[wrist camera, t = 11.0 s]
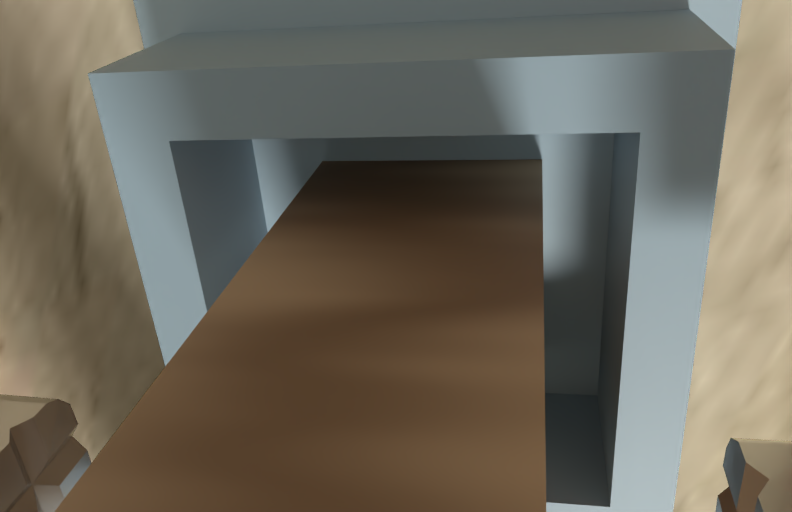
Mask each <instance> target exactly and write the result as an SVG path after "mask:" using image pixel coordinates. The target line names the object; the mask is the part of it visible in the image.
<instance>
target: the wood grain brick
mask: <svg viewBox="0 0 792 512" xmlns="http://www.w3.org/2000/svg"><path fill="white" fill-rule="evenodd" d="M55 512H546V445H545V358H544V271H543V184H542V159H521V160H397V161H322V162H321V164H320V165H319V166H318V168H317V169H316V170H315V171H314V173H313V174H312V175H311V177H310V178H309V179H308V181H307V182H306V183H305V185H304V186H303V187H302V188H301V190H300V191H299V192H298V194H297V195H296V196H295V198H294V199H293V200H292V202H291V203H290V204H289V205H288V207H287V208H286V209H285V211H284V212H283V213H282V215H281V216H280V217H279V219H278V220H277V221H276V222H275V224H274V225H273V226H272V228H271V229H270V230H269V232H268V233H267V234H266V236H265V237H264V238H263V239H262V241H261V242H260V243H259V245H258V246H257V247H256V249H255V250H254V251H253V253H252V254H251V255H250V256H249V258H248V259H247V260H246V262H245V263H244V264H243V266H242V267H241V268H240V270H239V271H238V272H237V273H236V275H235V276H234V277H233V279H232V280H231V281H230V283H229V284H228V285H227V287H226V288H225V289H224V290H223V292H222V293H221V294H220V296H219V297H218V298H217V300H216V301H215V302H214V304H213V305H212V306H211V307H210V309H209V310H208V311H207V313H206V314H205V315H204V317H203V318H202V319H201V321H200V322H199V323H198V325H197V326H196V327H195V328H194V330H193V331H192V332H191V334H190V335H189V336H188V338H187V339H186V340H185V342H184V343H183V344H182V345H181V347H180V348H179V349H178V351H177V352H176V353H175V355H174V356H173V357H172V359H171V360H170V361H169V362H168V364H167V365H166V366H165V368H164V369H163V370H162V372H161V373H160V374H159V376H158V377H157V378H156V379H155V381H154V382H153V383H152V385H151V386H150V387H149V389H148V390H147V391H146V393H145V394H144V395H143V396H142V398H141V399H140V400H139V402H138V403H137V404H136V406H135V407H134V408H133V410H132V411H131V412H130V413H129V415H128V416H127V417H126V419H125V420H124V421H123V423H122V424H121V425H120V427H119V428H118V429H117V430H116V432H115V433H114V434H113V436H112V437H111V438H110V440H109V441H108V442H107V444H106V445H105V446H104V447H103V449H102V450H101V451H100V453H99V454H98V455H97V457H96V458H95V459H94V461H93V462H92V463H91V464H90V466H89V467H88V468H87V470H86V471H85V472H84V474H83V475H82V476H81V478H80V479H79V480H78V482H77V483H76V484H75V485H74V487H73V488H72V489H71V491H70V492H69V493H68V495H67V496H66V497H65V499H64V500H63V501H62V502H61V504H60V505H59V506H58V508H57V509H56V510H55Z"/></svg>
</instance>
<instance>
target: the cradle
mask: <svg viewBox="0 0 792 512" xmlns="http://www.w3.org/2000/svg"><path fill="white" fill-rule="evenodd" d="M133 1H134V5H135V10H136V14H137V18H138V23H139V27H140V32H141V36H142V41H143V45H144V49H143V50H141V51H139V52H136V53H134V54H132V55H130V56H127V57H125V58H123V59H120V60H118V61H116V62H113V63H111V64H109V65H107V66H104V67H102V68H100V69H97V70H95V71H93V72H90V73H88V76H89V80H90V84H91V87H92V91H93V95H94V99H95V102H96V106H97V110H98V114H99V118H100V121H101V125H102V129H103V133H104V136H105V140H106V144H107V148H108V152H109V155H110V159H111V163H112V167H113V171H114V174H115V178H116V182H117V186H118V189H119V193H120V197H121V201H122V205H123V208H124V212H125V216H126V220H127V223H128V227H129V231H130V235H131V239H132V242H133V246H134V250H135V254H136V258H137V261H138V265H139V269H140V273H141V276H142V280H143V284H144V288H145V292H146V295H147V299H148V303H149V307H150V310H151V314H152V318H153V322H154V326H155V329H156V333H157V337H158V341H159V345H160V348H161V352H162V356H163V360H164V363H165V366H166V365H167V364H168V362H169V361H170V360H171V359H172V357H173V356H174V355H175V353H176V352H177V351H178V349H179V348H180V347H181V345H182V344H183V343H184V342H185V340H186V339H187V338H188V336H189V335H190V334H191V332H192V331H193V330H194V328H195V327H196V326H197V325H198V323H199V322H200V321H201V319H202V318H203V317H204V315H205V314H206V313H207V311H208V310H209V309H210V307H211V306H212V305H213V304H214V302H215V301H216V300H217V298H218V297H219V296H220V294H221V293H222V292H223V290H224V289H225V288H226V287H227V285H228V284H229V283H230V281H231V280H232V279H233V277H234V276H235V275H236V273H237V272H238V271H239V270H240V268H241V267H242V266H243V264H244V263H245V262H246V260H247V259H248V258H249V256H250V255H251V254H252V253H253V251H254V250H255V249H256V247H257V246H258V245H259V243H260V242H261V241H262V239H263V238H264V237H265V236H266V234H267V233H268V232H269V230H270V229H271V228H272V226H273V225H274V224H275V222H276V221H277V220H278V219H279V217H280V216H281V215H282V213H283V212H284V211H285V209H286V208H287V207H288V205H289V204H290V203H291V202H292V200H293V199H294V198H295V196H296V195H297V194H298V192H299V191H300V190H301V188H302V187H303V186H304V185H305V183H306V182H307V181H308V179H309V178H310V177H311V175H312V174H313V173H314V171H315V170H316V169H317V168H318V166H319V165H320V164H321V162H322V161H397V160H521V159H542V184H543V271H544V358H545V445H546V512H673V508H674V501H675V493H676V486H677V479H678V471H679V465H680V458H681V451H682V443H683V436H684V428H685V421H686V414H687V406H688V399H689V391H690V384H691V376H692V369H693V362H694V354H695V347H696V339H697V332H698V325H699V317H700V310H701V302H702V295H703V287H704V280H705V273H706V265H707V258H708V250H709V243H710V236H711V228H712V221H713V213H714V206H715V198H716V191H717V184H718V176H719V169H720V161H721V154H722V147H723V139H724V132H725V124H726V117H727V109H728V102H729V95H730V87H731V80H732V72H733V65H734V58H735V50H736V43H737V35H738V28H739V20H740V13H741V6H742V0H133Z"/></svg>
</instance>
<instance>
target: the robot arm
mask: <svg viewBox="0 0 792 512" xmlns="http://www.w3.org/2000/svg"><path fill="white" fill-rule="evenodd" d="M77 425H78V423H77V420H76V418H75V415H74V413H73V410H72V408H71V405H70V404H69V403H66V402H64V401H61V400H59V399H50V398H38V397H26V396H14V395H3V394H0V512H55V510H56V509H57V508H58V506H59V505H60V504H61V502H62V501H63V500H64V499H65V497H66V496H67V495H68V493H69V492H70V491H71V489H72V488H73V487H74V485H75V484H76V483H77V482H78V480H79V479H80V478H81V476H82V475H83V474H84V472H85V471H86V470H87V468H88V467H89V466H90V464H91V461H90V458H89V455H88V452H87V450H86V449H85V448H84V447H83V446H82V445H81V444H80V443H79V442H78V441H77V440H75V439H74V438H73V437H72V436H73V434H74V431H75V429H76V427H77ZM723 467H724V470H725V474H726V477H727V480H728V484H729V487H728V488H727V489H725V490H724V491H723V492H722V493H721V494H719V495H718V499H717V506H716V512H792V441H780V440H761V439H742V438H731V439H730V441H729V443H728V445H727V448H726V452H725V458H724V463H723Z"/></svg>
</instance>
